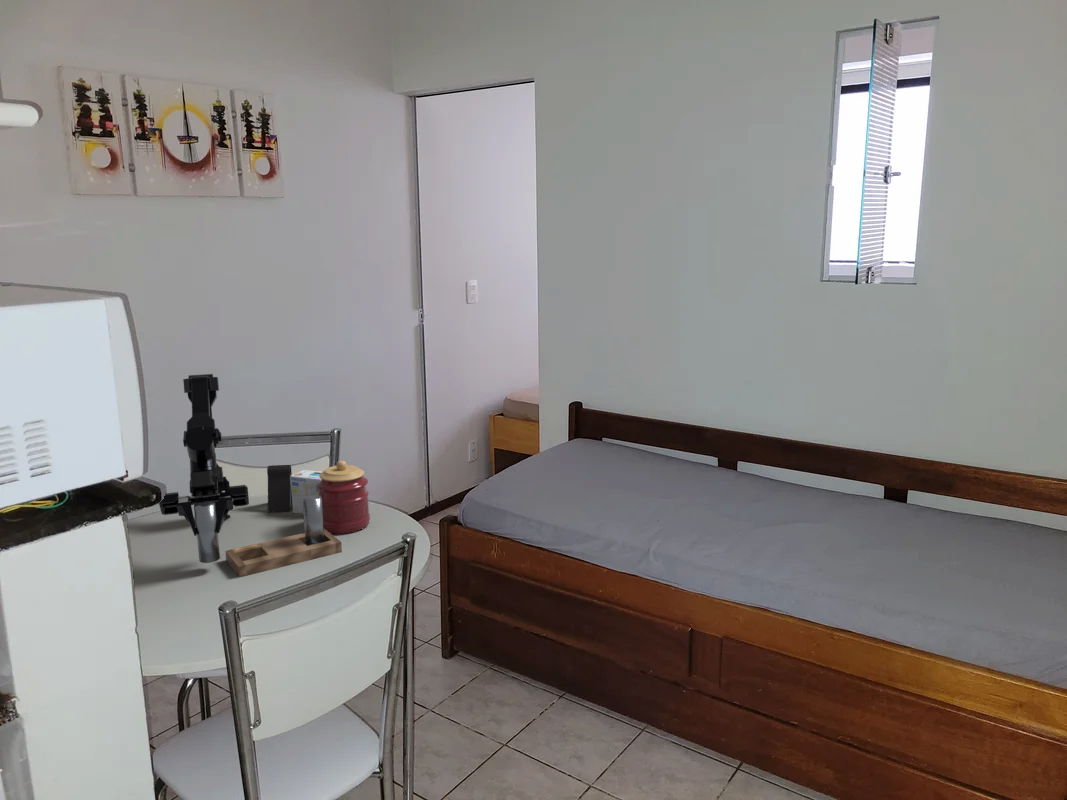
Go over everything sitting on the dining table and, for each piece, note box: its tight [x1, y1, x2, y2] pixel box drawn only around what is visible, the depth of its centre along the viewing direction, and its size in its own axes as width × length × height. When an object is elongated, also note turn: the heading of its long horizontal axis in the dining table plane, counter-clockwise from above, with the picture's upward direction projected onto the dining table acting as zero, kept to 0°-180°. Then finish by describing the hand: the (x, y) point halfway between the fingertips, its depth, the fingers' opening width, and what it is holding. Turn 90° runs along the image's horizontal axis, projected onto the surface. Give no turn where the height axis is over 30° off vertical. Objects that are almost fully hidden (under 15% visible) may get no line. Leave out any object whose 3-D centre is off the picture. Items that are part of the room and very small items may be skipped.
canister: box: [317, 460, 371, 535], centre depth 206 cm, size 13×13×18 cm
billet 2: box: [303, 495, 324, 546], centre depth 191 cm, size 4×4×13 cm
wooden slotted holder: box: [225, 529, 343, 578], centre depth 188 cm, size 24×11×3 cm, turn 126°
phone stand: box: [266, 464, 293, 513], centre depth 221 cm, size 9×6×12 cm, turn 7°
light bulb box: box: [290, 469, 323, 515], centre depth 217 cm, size 11×7×11 cm, turn 71°
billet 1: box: [193, 501, 221, 564], centre depth 179 cm, size 4×4×13 cm
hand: (206, 533), depth 177 cm, fingers closed on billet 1, 4 cm apart
